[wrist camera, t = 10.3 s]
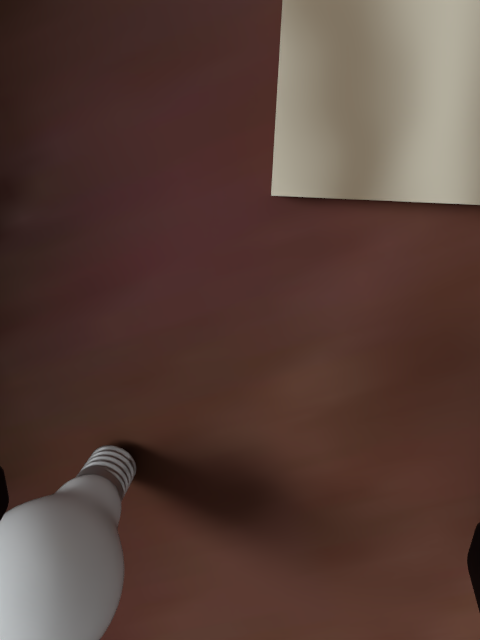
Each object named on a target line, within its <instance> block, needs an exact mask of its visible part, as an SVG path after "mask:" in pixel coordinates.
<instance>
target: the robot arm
mask: <svg viewBox="0 0 480 640" xmlns="http://www.w3.org/2000/svg"><path fill="white" fill-rule="evenodd" d="M8 503H9V495H8V490H7V485H6V480H5V475H4V470H3V469H2V467H1V466H0V521H1V519H2V517H3V516H4V514H5V512H6V510H7V507H8ZM467 564H468V570H469V574H470V578H471V582H472V585H473V589H474V593H475V597H476V600H477V604H478V608H479V612H480V522H479V523H478V524H477V526H476V529H475V532H474V535H473V539H472V542H471V545H470V549H469V552H468V557H467Z"/></svg>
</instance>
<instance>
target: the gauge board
mask: <svg viewBox="0 0 480 640" xmlns="http://www.w3.org/2000/svg"><path fill="white" fill-rule="evenodd" d="M271 196H292V197H314V198H337V199H359V200H381V201H404V202H426V203H448V204H470V205H480V0H283V4H282V21H281V38H280V55H279V72H278V88H277V105H276V122H275V139H274V156H273V173H272V190H271Z"/></svg>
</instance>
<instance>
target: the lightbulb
mask: <svg viewBox="0 0 480 640" xmlns="http://www.w3.org/2000/svg"><path fill="white" fill-rule="evenodd" d="M135 474H136V464H135V461H134V459H133V458H132V456H131V455H130V454H129V453H128V452H127V451H125V450H124V449H122V448H120V447H117V446H111V445H107V446H102V447H99V448H98V449H96V450H95V451H94V452H93V453H92V455H91V457H90V458H89V459H88V461H87V462H86V464H85V465H84V467H83V468H82V469H81V471H80V472H79V474H78V475H77V476H76V478H74V479H72V480H70V481H68V482H67V483H66V484H64V485H63V486H62V487H61V488H60V489H59V490H57V491H56V492H55V493H54V494H52V495H49V496H45V497H41V498H38V499H34V500H31V501H29V502H26V503H23V504H21V505H19V506H17V507H15V508H13V509H11V510H9V511H7V512H6V513H5V514H4V516H3V517H2V519H1V521H0V640H100V639H101V637H102V636H103V634H104V633H105V631H106V630H107V628H108V626H109V625H110V623H111V621H112V619H113V617H114V615H115V612H116V610H117V607H118V604H119V601H120V597H121V594H122V589H123V582H124V556H123V550H122V545H121V541H120V537H119V534H118V524H119V520H120V516H121V502H122V500H123V498H124V496H125V493H126V492H127V490H128V487H129V486H130V484H131V482H132V480H133V478H134V476H135Z"/></svg>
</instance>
